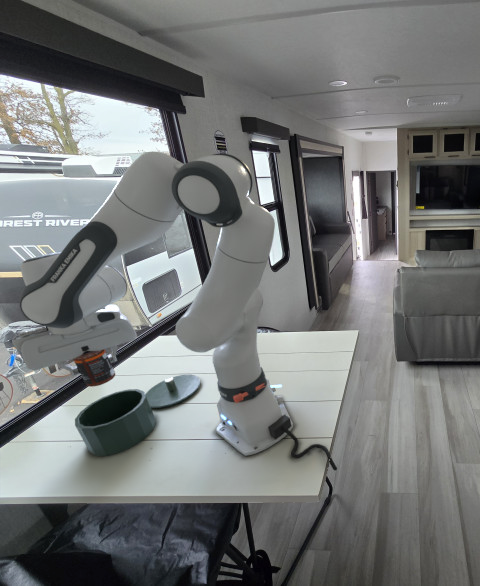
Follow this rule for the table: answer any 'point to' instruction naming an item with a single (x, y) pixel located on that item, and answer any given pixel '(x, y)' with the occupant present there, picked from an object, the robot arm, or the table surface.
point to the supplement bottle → (94, 367)
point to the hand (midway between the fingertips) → (95, 367)
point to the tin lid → (172, 390)
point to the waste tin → (115, 422)
